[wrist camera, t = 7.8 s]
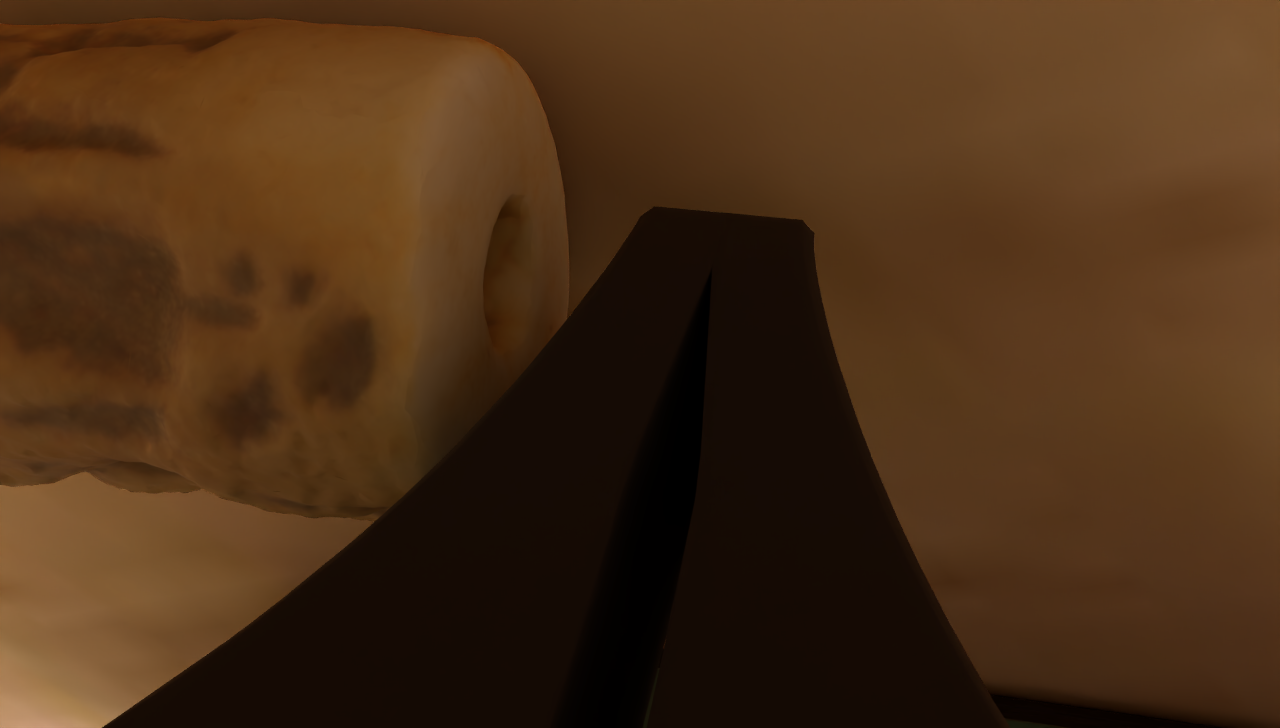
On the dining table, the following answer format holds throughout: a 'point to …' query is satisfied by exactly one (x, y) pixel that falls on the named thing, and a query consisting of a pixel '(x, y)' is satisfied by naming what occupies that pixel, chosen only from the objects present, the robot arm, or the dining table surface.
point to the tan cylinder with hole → (266, 255)
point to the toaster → (1053, 715)
